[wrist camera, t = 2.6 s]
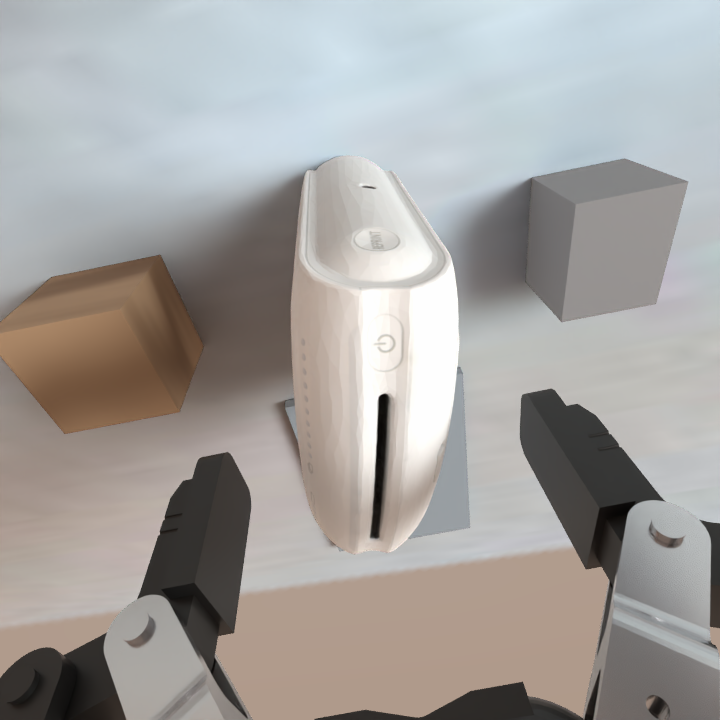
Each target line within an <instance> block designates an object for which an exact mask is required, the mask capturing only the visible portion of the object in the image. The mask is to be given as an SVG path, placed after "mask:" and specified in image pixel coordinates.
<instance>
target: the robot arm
mask: <svg viewBox="0 0 720 720" xmlns="http://www.w3.org/2000/svg"><path fill="white" fill-rule="evenodd" d="M520 440H521V445H522V448H523V451H524V454H525V456H526V458H527V460H528V462H529V464H530V466H531V468H532V470H533V471H534V473H535V475H536V477H537V479H538V481H539V483H540V485H541V486H542V488H543V490H544V492H545V494H546V496H547V498H548V499H549V501H550V503H551V505H552V507H553V509H554V511H555V512H556V514H557V516H558V518H559V520H560V522H561V524H562V526H563V527H564V529H565V531H566V533H567V535H568V537H569V539H570V540H571V542H572V544H573V546H574V548H575V550H576V552H577V553H578V555H579V557H580V559H581V561H582V563H583V565H584V567H585V568H586V569H591V568H597V567H602V568H603V570H604V572H605V573H606V575H607V577H608V579H609V583H608V588H607V593H606V599H605V605H604V610H603V616H602V621H601V626H600V632H599V637H598V643H597V649H596V654H595V660H594V665H593V669H592V674H591V678H590V682H589V687H588V692H587V697H586V702H585V708H584V713H583V718H581V717H580V716H578V715H576V714H575V713H573V712H572V711H570V710H568V709H566V708H564V707H562V706H560V705H557V704H555V703H553V702H550V701H547V700H543V699H540V698H536V697H529V696H527V693H526V690H525V687H524V684H523V682H519V683H514V684H508V685H503V686H497V687H491V688H486V689H480V690H474V691H470V692H469V693H467V694H465V695H463V696H461V697H460V698H458V699H456V700H454V701H452V702H450V703H448V704H447V705H445V706H443V707H441V708H439V709H437V710H435V711H434V712H432V713H430V714H428V715H426V716H424V717H420V718H415V717H407V716H401V715H395V714H388V713H382V712H375V711H369V710H362V711H357V712H351V713H345V714H340V715H334V716H329V717H323V718H318V719H315V720H720V660H719V653H718V649H717V647H716V646H715V645H713V644H712V643H711V640H710V627H716V628H720V524H719V523H711V522H706V521H702V520H699V519H698V518H697V517H695V516H694V515H693V514H692V513H690V512H689V511H687V510H685V509H684V508H682V507H680V506H677V505H675V504H672V503H669V502H666V501H664V500H663V499H662V497H661V496H660V495H659V494H658V493H657V492H656V490H655V489H654V488H653V487H652V485H651V484H650V483H649V482H648V480H647V479H646V478H645V477H644V475H643V474H642V473H641V471H640V470H639V469H638V468H637V466H636V465H635V464H634V463H633V461H632V460H631V459H630V458H629V456H628V455H627V454H626V453H625V451H624V450H623V449H622V448H621V447H619V444H618V443H617V441H616V440H615V439H614V438H613V436H612V435H611V434H609V432H608V430H607V429H606V428H605V426H604V425H603V424H602V422H601V421H600V420H599V419H598V417H597V416H596V415H594V414H593V413H591V412H589V411H588V410H586V409H585V408H583V407H582V406H580V405H578V404H574V405H569V406H566V405H565V403H564V402H563V401H562V399H561V398H560V397H559V395H558V394H557V393H556V391H555V390H553V389H547V390H542V391H537V392H532V393H527V394H523V395H522V398H521V418H520ZM250 513H251V497H250V492H249V489H248V486H247V484H246V482H245V480H244V479H243V477H242V475H241V473H240V471H239V469H238V467H237V465H236V463H235V461H234V459H233V457H232V456H231V454H230V453H228V452H226V453H221V454H216V455H211V456H206V457H201V458H200V459H199V460H198V462H197V464H196V468H195V471H194V475H193V478H192V479H190V480H185V481H183V482H182V483H181V485H180V486H179V487H178V489H177V490H176V491H175V493H174V494H173V496H172V497H171V498H170V501H169V505H168V508H167V511H166V514H165V520H163V523H162V526H161V529H160V535H159V536H158V538H157V542H156V545H155V548H154V551H153V554H152V557H151V560H150V563H149V566H148V569H147V572H146V575H145V579H144V582H143V585H142V588H141V591H140V594H139V596H138V598H137V600H135V601H133V602H132V603H131V604H129V605H128V606H127V607H126V608H124V609H123V610H122V611H121V612H120V613H119V614H118V616H117V617H116V618H115V620H114V621H113V623H112V624H111V626H110V628H109V630H108V632H107V633H105V634H103V635H102V636H100V637H98V638H96V639H94V640H92V641H91V642H88V643H86V644H85V645H83V646H81V647H79V648H77V649H75V650H73V651H71V652H69V653H67V654H65V655H62V654H61V653H59V652H58V651H57V650H55V649H53V648H40V649H37V650H34V651H32V652H30V653H28V654H26V655H25V656H23V657H22V658H20V659H19V660H18V661H16V662H15V663H14V664H13V665H12V666H11V667H10V668H9V669H8V670H7V671H6V672H5V673H4V674H3V675H2V677H1V678H0V720H253V719H252V717H251V716H250V714H249V712H248V710H247V708H246V707H245V705H244V703H243V701H242V700H241V698H240V696H239V694H238V692H237V691H236V689H235V687H234V685H233V683H232V682H231V680H230V678H229V676H228V675H227V673H226V671H225V670H224V668H223V666H222V664H221V662H220V661H219V659H218V657H217V655H216V654H215V651H216V645H217V638H218V636H221V635H226V634H231V633H234V629H235V621H236V614H237V607H238V600H239V593H240V585H241V578H242V571H243V564H244V556H245V549H246V542H247V534H248V527H249V520H250Z"/></svg>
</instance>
